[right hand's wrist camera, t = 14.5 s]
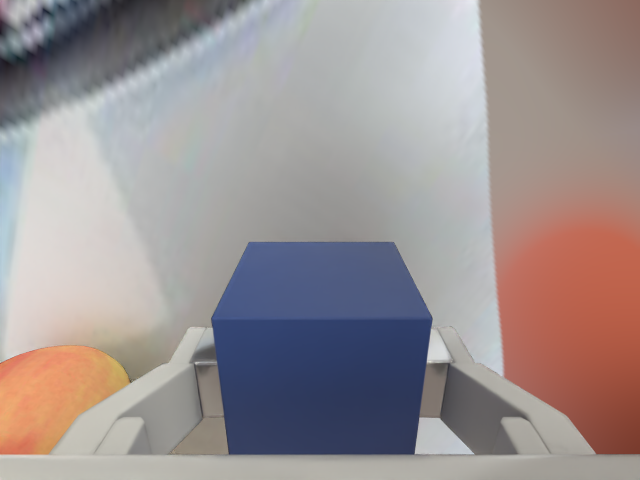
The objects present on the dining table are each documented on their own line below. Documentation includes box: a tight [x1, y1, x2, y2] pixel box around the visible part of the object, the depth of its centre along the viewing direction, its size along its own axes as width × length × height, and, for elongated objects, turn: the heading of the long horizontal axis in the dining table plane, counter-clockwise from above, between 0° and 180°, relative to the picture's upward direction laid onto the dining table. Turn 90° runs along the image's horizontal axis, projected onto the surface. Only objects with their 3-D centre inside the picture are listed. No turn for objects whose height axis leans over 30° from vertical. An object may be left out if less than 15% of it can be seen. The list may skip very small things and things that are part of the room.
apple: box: [0, 345, 130, 455], centre depth 22 cm, size 10×10×10 cm
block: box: [211, 242, 432, 455], centre depth 10 cm, size 5×5×4 cm
